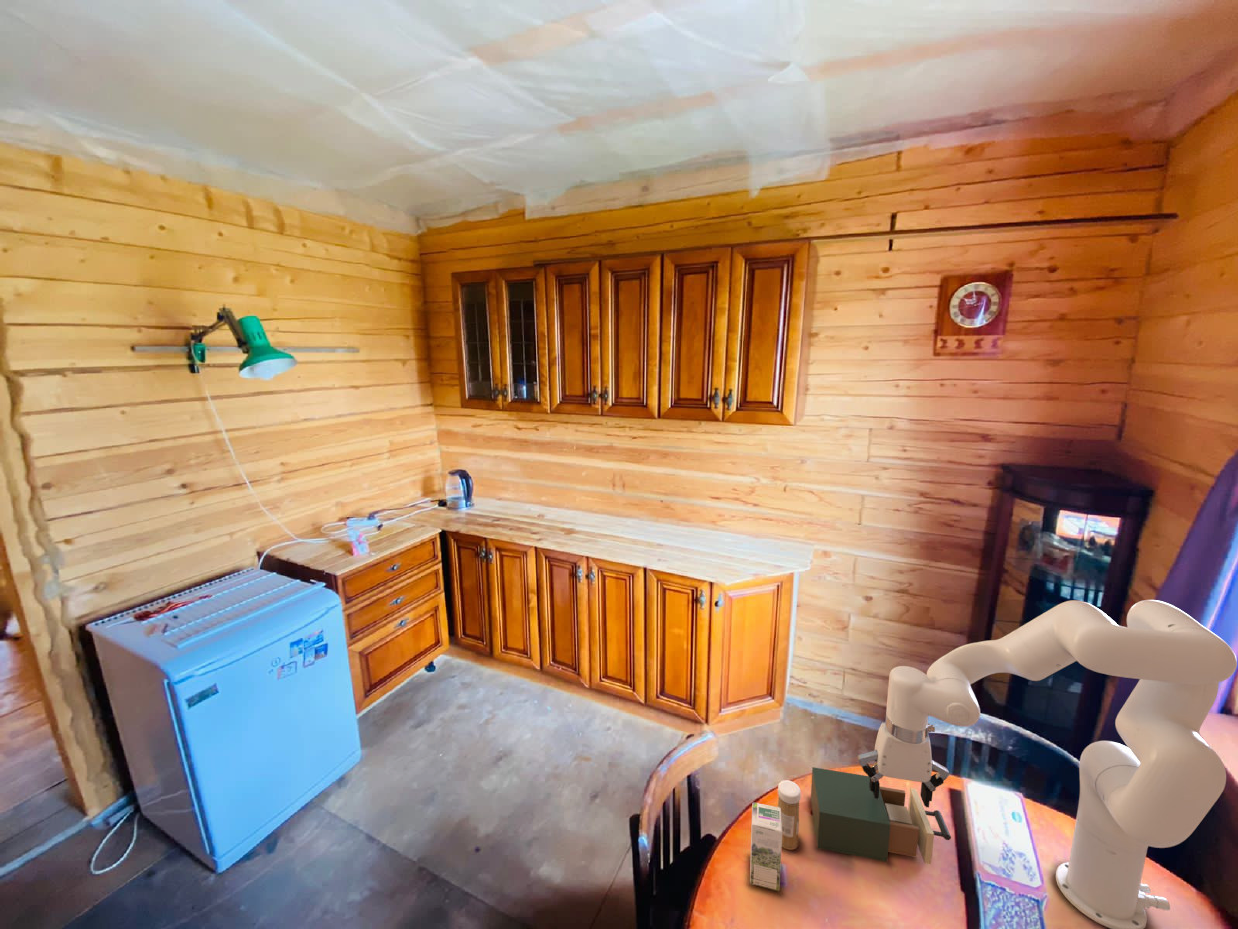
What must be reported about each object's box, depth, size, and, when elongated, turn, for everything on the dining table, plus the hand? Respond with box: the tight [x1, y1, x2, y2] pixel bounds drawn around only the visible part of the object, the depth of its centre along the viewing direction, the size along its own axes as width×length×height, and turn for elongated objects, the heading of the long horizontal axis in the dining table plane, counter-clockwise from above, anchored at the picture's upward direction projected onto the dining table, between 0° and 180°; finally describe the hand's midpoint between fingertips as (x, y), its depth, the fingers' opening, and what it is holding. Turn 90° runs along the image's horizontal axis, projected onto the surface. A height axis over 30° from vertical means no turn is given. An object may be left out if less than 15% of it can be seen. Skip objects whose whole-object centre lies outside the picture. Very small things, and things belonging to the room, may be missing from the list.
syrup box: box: [749, 801, 783, 892], centre depth 100 cm, size 6×6×14 cm
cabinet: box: [810, 766, 890, 863], centre depth 111 cm, size 14×13×9 cm
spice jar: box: [777, 779, 802, 850], centre depth 108 cm, size 5×5×14 cm
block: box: [884, 803, 913, 825], centre depth 108 cm, size 4×4×4 cm
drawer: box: [879, 786, 952, 865], centre depth 108 cm, size 17×11×7 cm
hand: (899, 797), depth 107 cm, fingers open, 9 cm apart
